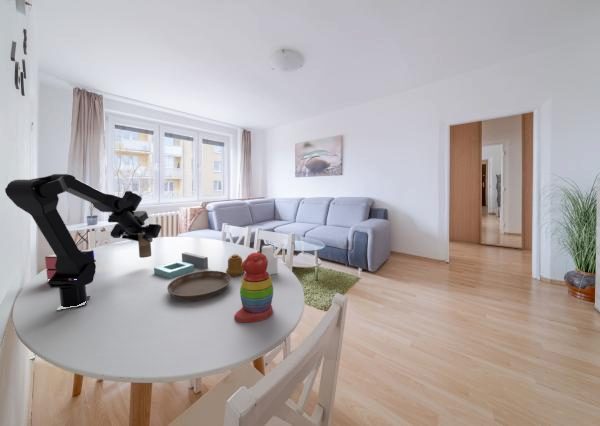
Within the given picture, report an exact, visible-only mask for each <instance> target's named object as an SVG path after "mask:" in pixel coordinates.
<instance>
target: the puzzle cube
mask: <svg viewBox="0 0 600 426" xmlns="http://www.w3.org/2000/svg"><path fill="white" fill-rule="evenodd" d="M79 250H80V251H90V252H91V253H92V256H93V258H94V259H95V254H94V253H95V252H94V250H93V249H89V250H88V249H79ZM44 259H45V268H46V270H45V271H46V278H47V280H48V279H51V278H52V276H53V275H54V274H55V272H56V271H57V270H56V268H55V263H56V259H57V256H56V255H55V253H54V254H51V255H47V256H45V257H44ZM74 279H77V278H69V280H74Z"/></svg>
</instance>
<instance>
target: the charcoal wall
mask: <svg viewBox="0 0 600 426" xmlns="http://www.w3.org/2000/svg"><path fill="white" fill-rule="evenodd" d="M208 258H209V257H208V256H204V255H199V254H195V253H192V252H191V253H190V252H185V251H184V252H181V261H182V262H186V263H190V264H193V265H194V268H199V269H203V270H206V269H209V263H208V262H209V260H208Z"/></svg>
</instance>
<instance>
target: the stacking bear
mask: <svg viewBox="0 0 600 426" xmlns="http://www.w3.org/2000/svg"><path fill="white" fill-rule="evenodd" d="M267 265H268V260H267V258H266V256H265V255H264V254H262V253H261V252H260V250H257V252H252V253H250V254H248V255H247V257H246V258H245V260H242V264H241V266H242V269H243V270H244V273H243V276H242V280H241V285H240V288H239V289H240V291H239V293H240V294H239V295H240V301H241V306H242V307H241V308H240V309H239V310H238V311H236V312H235V314H234V321H235V322H238V323H255V322H261V321H264V320H266V319H267V318H270V317H271V315H272V314H273V312H274V309H273V305H272V303H273V298H274V285H273V279H272V277H271V275H269V274H268V272H267V271H266V269H267Z"/></svg>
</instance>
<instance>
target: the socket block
mask: <svg viewBox="0 0 600 426" xmlns="http://www.w3.org/2000/svg"><path fill="white" fill-rule="evenodd" d="M153 271H154V272H153V273H154V275H158V276H161V277H164V278H166V279H169V280H170V279H172V278H173V279H174V278H176V277H180V276H183V275H186V274H189V273H190V272H191V273H192V272H193V271H195V267H194V265H193V264H190V263H186V262H182V260H177V261H173V262H169V263H166V264H162V265H159V266H155V267H153Z"/></svg>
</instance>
